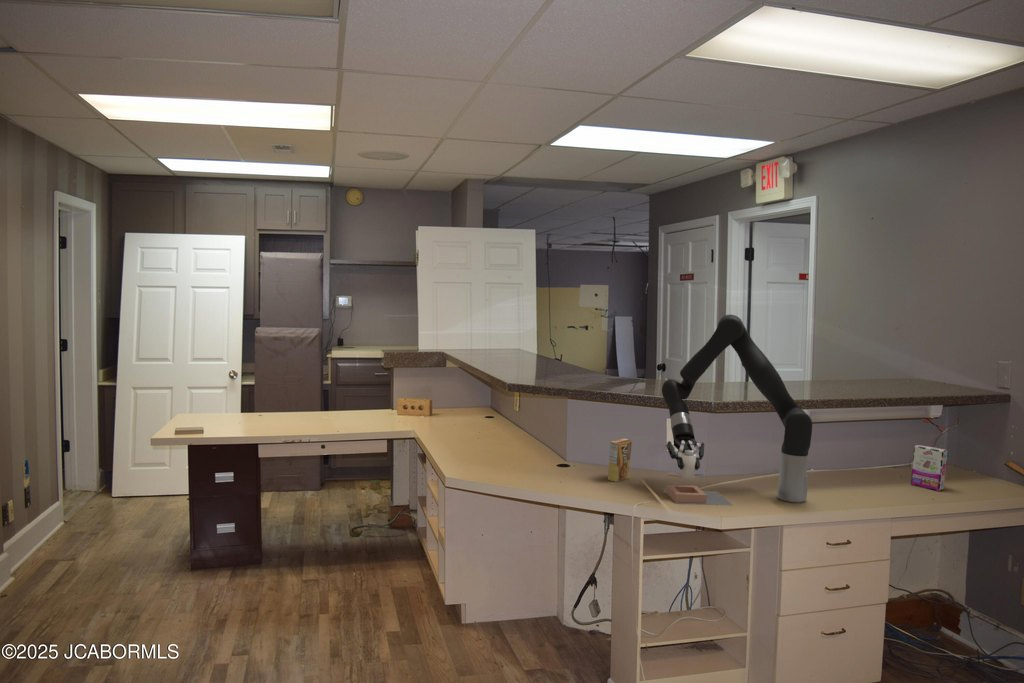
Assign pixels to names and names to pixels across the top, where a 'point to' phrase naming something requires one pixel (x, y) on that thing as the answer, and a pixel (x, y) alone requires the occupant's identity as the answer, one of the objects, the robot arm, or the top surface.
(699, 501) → the holder
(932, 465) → the candy bar box
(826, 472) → the top surface
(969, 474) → the top surface
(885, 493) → the top surface
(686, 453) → the connector plug
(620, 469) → the candy box
